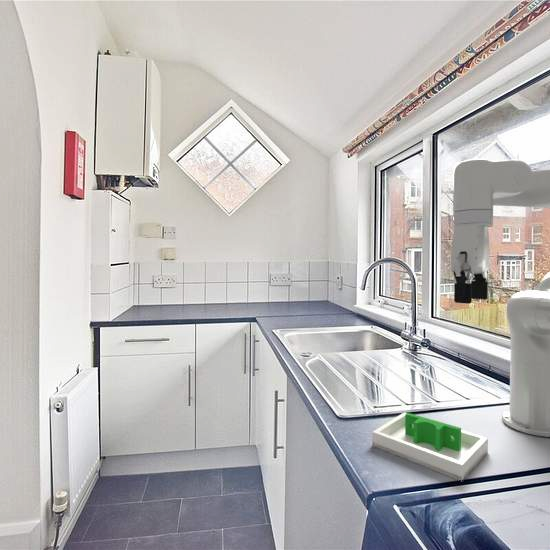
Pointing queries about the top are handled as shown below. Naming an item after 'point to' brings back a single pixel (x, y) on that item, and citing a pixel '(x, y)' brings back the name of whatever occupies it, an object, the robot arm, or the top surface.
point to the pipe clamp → (432, 432)
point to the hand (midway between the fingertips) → (471, 300)
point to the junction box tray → (431, 449)
